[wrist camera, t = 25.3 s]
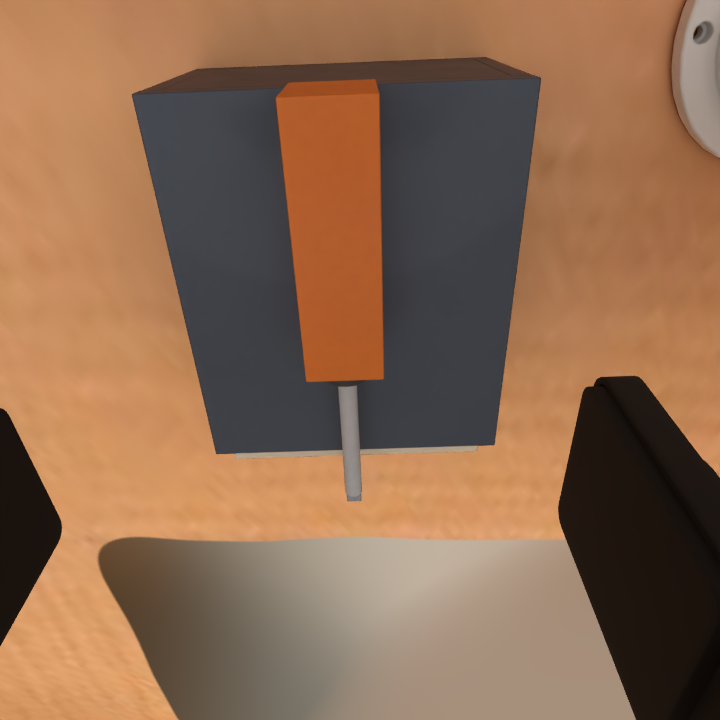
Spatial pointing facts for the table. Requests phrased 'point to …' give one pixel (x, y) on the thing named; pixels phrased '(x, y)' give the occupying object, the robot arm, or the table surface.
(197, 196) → the dresser
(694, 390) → the table surface
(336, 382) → the screwdriver
